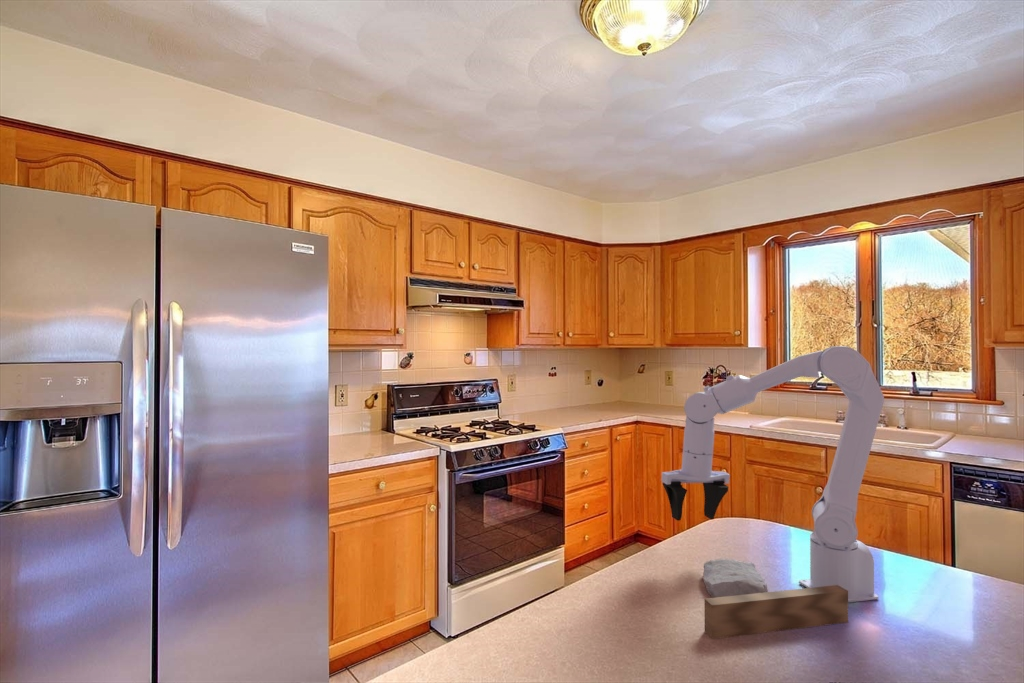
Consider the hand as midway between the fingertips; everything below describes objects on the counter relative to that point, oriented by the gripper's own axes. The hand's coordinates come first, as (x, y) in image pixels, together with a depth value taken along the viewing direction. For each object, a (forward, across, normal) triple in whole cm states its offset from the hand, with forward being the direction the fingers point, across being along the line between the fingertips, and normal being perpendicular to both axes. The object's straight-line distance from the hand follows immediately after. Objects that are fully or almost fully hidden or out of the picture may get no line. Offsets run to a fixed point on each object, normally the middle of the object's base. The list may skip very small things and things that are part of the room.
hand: (692, 518), depth 101 cm
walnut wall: (+8, +1, +24) cm, 25 cm away
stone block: (+9, -1, +11) cm, 15 cm away
